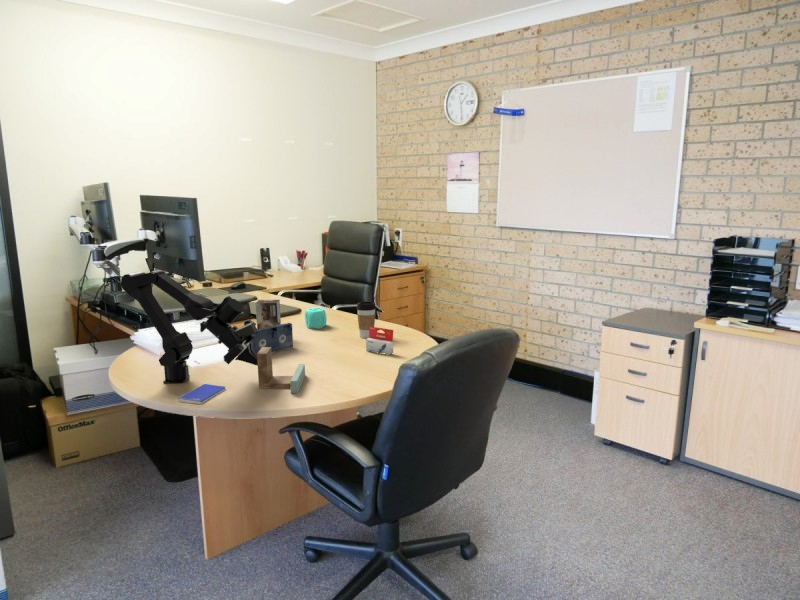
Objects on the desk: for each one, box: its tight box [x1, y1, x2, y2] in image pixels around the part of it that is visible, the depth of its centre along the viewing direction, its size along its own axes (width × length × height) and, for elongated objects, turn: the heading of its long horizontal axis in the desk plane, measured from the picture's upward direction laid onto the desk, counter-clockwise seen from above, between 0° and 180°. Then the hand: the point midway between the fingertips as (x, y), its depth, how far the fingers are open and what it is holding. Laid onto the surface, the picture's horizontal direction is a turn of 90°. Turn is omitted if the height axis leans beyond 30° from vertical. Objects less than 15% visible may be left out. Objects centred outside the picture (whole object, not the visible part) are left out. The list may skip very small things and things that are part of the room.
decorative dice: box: [304, 307, 327, 330], centre depth 246 cm, size 8×8×8 cm
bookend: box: [257, 347, 293, 389], centre depth 175 cm, size 11×7×12 cm, turn 91°
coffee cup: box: [356, 301, 377, 339], centre depth 229 cm, size 8×8×15 cm
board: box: [290, 363, 306, 394], centre depth 176 cm, size 2×16×4 cm, turn 1°
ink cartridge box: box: [365, 326, 394, 355], centre depth 208 cm, size 2×11×10 cm, turn 62°
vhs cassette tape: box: [249, 322, 294, 355], centre depth 209 cm, size 18×3×10 cm, turn 135°
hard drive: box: [177, 383, 226, 405], centre depth 166 cm, size 2×8×12 cm
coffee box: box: [255, 299, 282, 329], centre depth 227 cm, size 9×6×16 cm
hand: (259, 364), depth 174 cm, fingers closed, pressing on bookend
